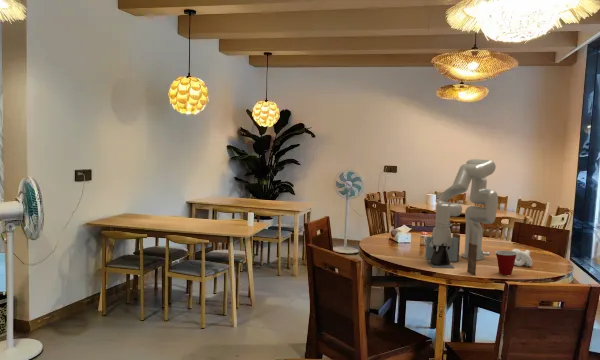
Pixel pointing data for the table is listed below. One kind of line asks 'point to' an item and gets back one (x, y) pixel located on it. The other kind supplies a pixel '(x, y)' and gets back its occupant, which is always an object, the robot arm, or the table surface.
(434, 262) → the black a-shaped stand
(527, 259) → the white knot sculpture
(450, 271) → the table surface
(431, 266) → the mat
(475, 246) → the frame
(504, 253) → the plastic cup
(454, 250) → the grey flat panel
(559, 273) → the table surface
